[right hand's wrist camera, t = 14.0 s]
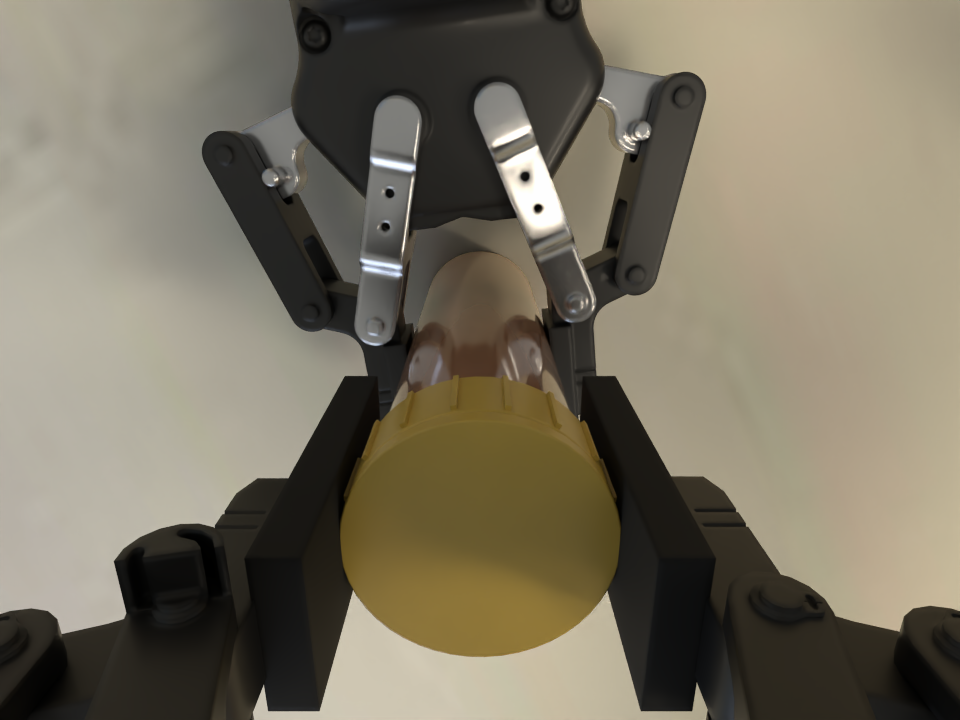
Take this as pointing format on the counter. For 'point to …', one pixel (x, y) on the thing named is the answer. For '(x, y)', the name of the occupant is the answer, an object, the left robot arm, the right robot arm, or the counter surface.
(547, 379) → the jar
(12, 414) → the counter surface
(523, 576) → the lid
